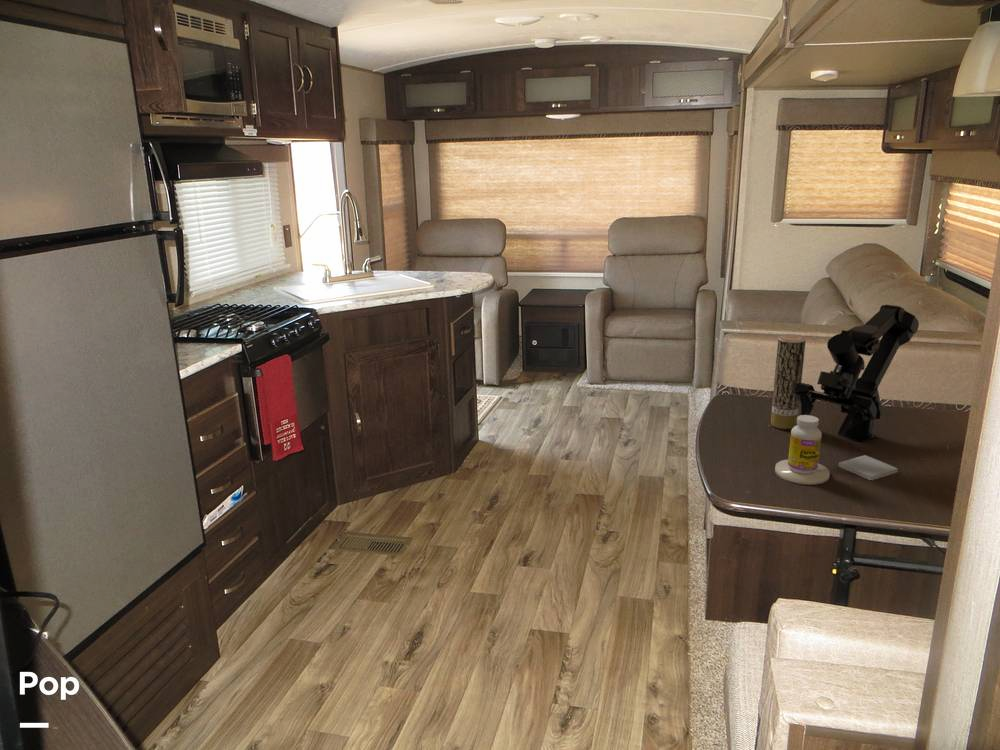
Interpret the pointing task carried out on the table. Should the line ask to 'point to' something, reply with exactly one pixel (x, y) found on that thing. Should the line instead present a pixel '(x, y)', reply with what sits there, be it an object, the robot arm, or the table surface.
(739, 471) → the table surface
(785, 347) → the paper tube
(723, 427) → the table surface
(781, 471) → the round coaster
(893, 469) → the square tile
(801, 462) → the supplement bottle
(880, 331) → the robot arm
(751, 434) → the table surface
